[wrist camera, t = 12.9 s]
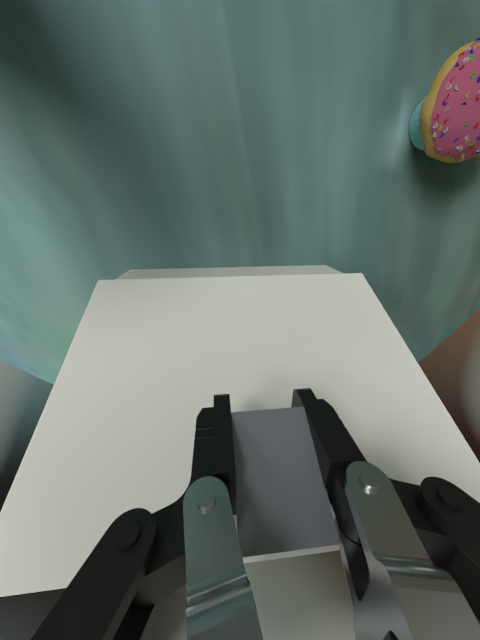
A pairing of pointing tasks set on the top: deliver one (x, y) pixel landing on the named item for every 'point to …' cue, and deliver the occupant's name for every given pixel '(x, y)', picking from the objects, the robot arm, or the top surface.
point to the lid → (198, 392)
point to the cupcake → (451, 110)
